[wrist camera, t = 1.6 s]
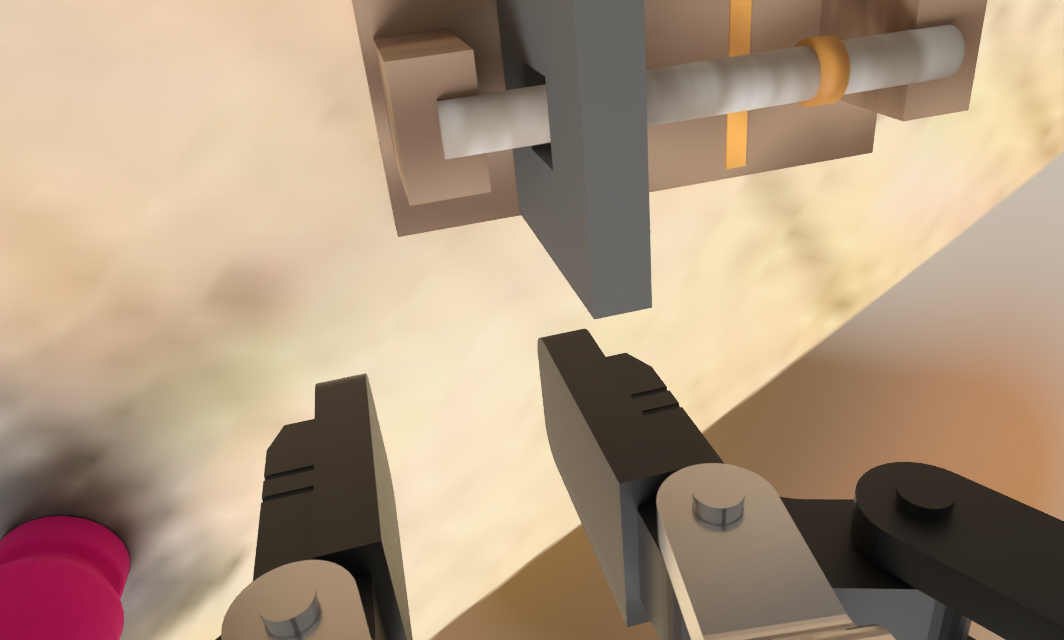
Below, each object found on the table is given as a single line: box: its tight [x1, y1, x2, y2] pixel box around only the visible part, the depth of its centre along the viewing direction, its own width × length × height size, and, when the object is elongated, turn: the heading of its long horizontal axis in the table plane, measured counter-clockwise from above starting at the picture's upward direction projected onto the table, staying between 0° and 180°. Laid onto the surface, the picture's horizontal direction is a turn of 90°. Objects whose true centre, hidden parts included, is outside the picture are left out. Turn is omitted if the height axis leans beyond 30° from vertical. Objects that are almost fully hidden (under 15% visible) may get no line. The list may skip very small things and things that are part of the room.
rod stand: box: [352, 0, 987, 237], centre depth 31 cm, size 12×24×9 cm, turn 95°
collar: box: [496, 0, 652, 319], centre depth 27 cm, size 11×2×11 cm, turn 5°
